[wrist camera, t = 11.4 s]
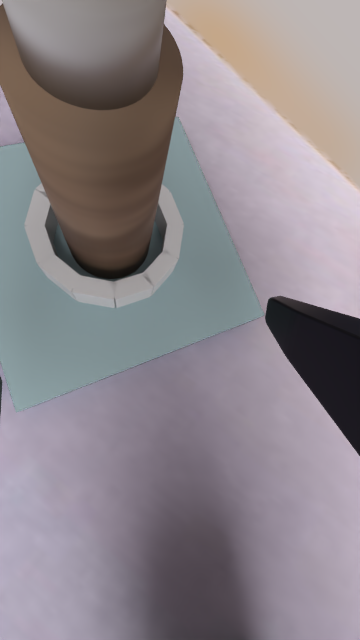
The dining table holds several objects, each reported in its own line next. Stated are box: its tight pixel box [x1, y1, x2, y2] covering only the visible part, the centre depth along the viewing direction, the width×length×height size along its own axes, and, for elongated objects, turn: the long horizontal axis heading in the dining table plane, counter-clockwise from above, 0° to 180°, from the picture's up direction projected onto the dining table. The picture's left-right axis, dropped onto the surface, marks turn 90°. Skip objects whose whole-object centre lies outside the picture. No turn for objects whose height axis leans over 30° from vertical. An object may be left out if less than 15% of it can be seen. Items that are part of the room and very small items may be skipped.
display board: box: [0, 117, 264, 412], centre depth 18 cm, size 16×16×3 cm
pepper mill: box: [0, 0, 183, 279], centre depth 12 cm, size 5×5×13 cm
